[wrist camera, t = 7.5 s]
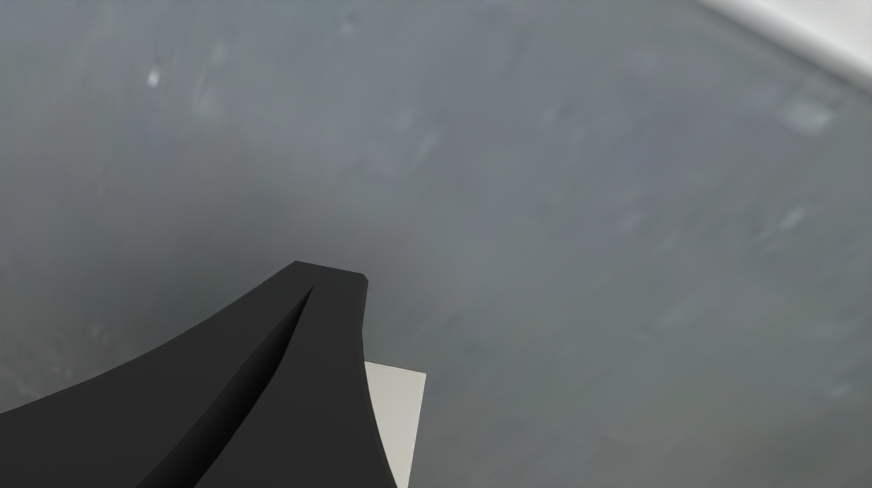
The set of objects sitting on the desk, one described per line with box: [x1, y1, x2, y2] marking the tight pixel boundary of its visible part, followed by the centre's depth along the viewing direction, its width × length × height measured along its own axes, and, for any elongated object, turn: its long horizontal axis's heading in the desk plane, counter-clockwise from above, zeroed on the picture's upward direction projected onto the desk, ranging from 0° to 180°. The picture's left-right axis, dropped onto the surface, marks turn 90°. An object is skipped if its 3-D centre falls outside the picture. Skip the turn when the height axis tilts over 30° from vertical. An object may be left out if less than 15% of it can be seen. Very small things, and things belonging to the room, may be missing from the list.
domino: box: [365, 361, 426, 488], centre depth 17 cm, size 4×2×9 cm, turn 80°
